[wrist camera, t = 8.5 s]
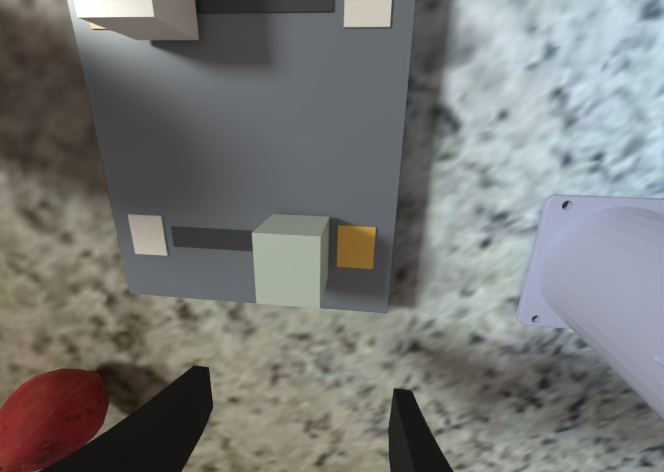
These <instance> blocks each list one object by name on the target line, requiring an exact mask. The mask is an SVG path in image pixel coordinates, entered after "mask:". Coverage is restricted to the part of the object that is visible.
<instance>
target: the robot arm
mask: <svg viewBox="0 0 664 472" xmlns="http://www.w3.org/2000/svg"><path fill="white" fill-rule="evenodd" d="M565 201H568V205H567V207H565V208H563V209H562V204H563V203H564V202H565ZM537 315H538V316H537ZM534 316H537V318H535V319H532V317H534ZM516 318H517V320H518V321H519V322H520V323H521V324H523V325H529V326H542V327H555V328H568V329H572V330H573V331H574V332H575V333H576V334H577V335H578V336H579V337H580V338H581V339H582V340H583V341H584V342H585V343H586V344H587V345H589V346H590V347H591V348H592V349H593V350H594V351H595V352H596V353H597V354H598V355H599V356H600V357H601V358H602V359H603V360H604V361H605V362H606V363H607V364H608V365H609V366H610V367H611V368H612V369H613V370H614V371H615V372H616V373H617V374H618V375H619V376H620V377H621V378H622V379H623V380H624V381H625V382H626V383H627V384H628V385H629V386H630V387H631V388H632V389H633V390H634V391H635V392H636V393H637V394H638V395H639V396H640V397H641V398H642V399H643V400H644V401H645V402H646V403H647V404H648V405H649V406H651V407H652V408H653V409H654V410H655V411H656V412H657V413H658V414H659V415H660V416H661V417H662V418H663V419H664V199H656V198H631V197H606V196H581V195H557V194H556V195H551V196H549V197H548V198H547V199H546V200H545V202H544V205H543V209H542V213H541V217H540V221H539V225H538V229H537V233H536V237H535V241H534V245H533V249H532V253H531V257H530V261H529V265H528V269H527V273H526V278H525V282H524V286H523V290H522V294H521V298H520V302H519V306H518V310H517V314H516ZM212 409H213V401H212V392H211V382H210V373H209V367H202V366H193V367H192V368H190V369H189V370H188V371H186V372H185V373H184V374H183V375H181V376H180V377H179V378H178V379H176V380H175V381H174V382H173V383H171V384H170V385H169V386H167V387H166V388H165V389H164V390H162V391H161V392H160V393H159V394H157V395H156V396H155V397H153V398H152V399H151V400H149V401H148V402H147V403H146V404H144V405H143V406H142V407H140V408H139V409H137V410H136V411H135V412H133V413H132V414H130V415H129V416H128V417H126V418H125V419H123V420H122V421H121V422H119V423H118V424H116V425H115V426H114V427H112V428H111V429H109V430H108V431H106V432H105V433H103V434H102V435H100V436H99V437H97V438H95V439H94V440H92V441H91V442H89V443H87V444H86V445H84V446H83V447H81V448H79V449H78V450H76V451H74V452H73V453H71V454H69V455H67V456H66V457H64V458H62V459H60V460H59V461H57V462H55V463H53V464H51V465H50V466H48V467H46V468H44V469H43V470H41V471H39V472H181V471H182V470H183V468H184V466H185V464H186V462H187V461H188V459H189V457H190V455H191V453H192V452H193V450H194V448H195V446H196V444H197V442H198V441H199V439H200V437H201V435H202V433H203V430H204V428H205V426H206V424H207V421H208V419H209V416H210V414H211V411H212ZM388 434H389V461H390V469H391V472H454V471H453V470H452V468H451V467H450V465H449V463H448V462H447V460H446V458H445V456H444V455H443V453H442V451H441V449H440V448H439V446H438V444H437V442H436V440H435V438H434V437H433V435H432V433H431V431H430V429H429V427H428V425H427V423H426V421H425V419H424V417H423V415H422V413H421V411H420V408H419V406H418V404H417V402H416V399H415V397H414V394H413V393H412V391H411V390H404V389H395V388H394V392H393V399H392V406H391V414H390V421H389V428H388Z"/></svg>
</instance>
